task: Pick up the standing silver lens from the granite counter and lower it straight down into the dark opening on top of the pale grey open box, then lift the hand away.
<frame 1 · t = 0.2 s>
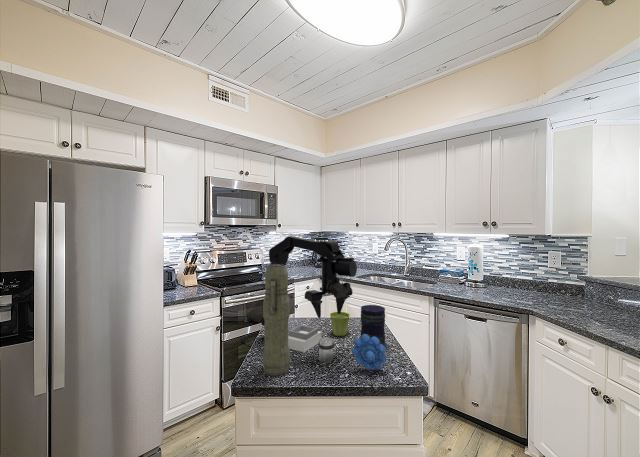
hand: (329, 315, 108), 14 cm above the countertop, tool pointing down, fingers open, 9 cm apart
lens: (326, 359, 103), on the countertop
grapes: (369, 372, 94), on the countertop
thermos: (276, 369, 96), on the countertop
storage jar: (372, 345, 116), on the countertop
grey open box: (303, 344, 116), on the countertop
plant pot: (339, 334, 128), on the countertop
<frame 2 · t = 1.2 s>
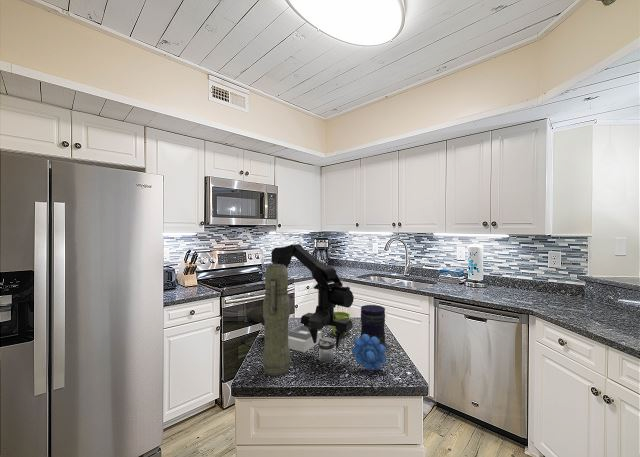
hand: (325, 345, 103), 5 cm above the countertop, tool pointing down, fingers open, 9 cm apart
nothing on the countertop moved.
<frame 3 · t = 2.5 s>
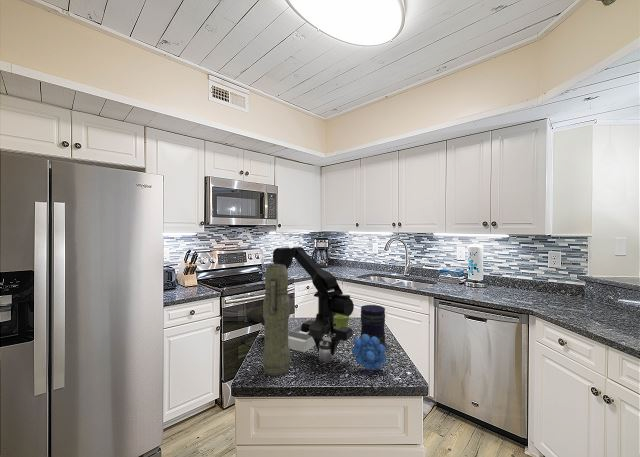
hand: (326, 353, 103), 2 cm above the countertop, tool pointing down, fingers closed on lens, 5 cm apart
lens: (326, 359, 103), on the countertop, touching gripper
everything else where it was.
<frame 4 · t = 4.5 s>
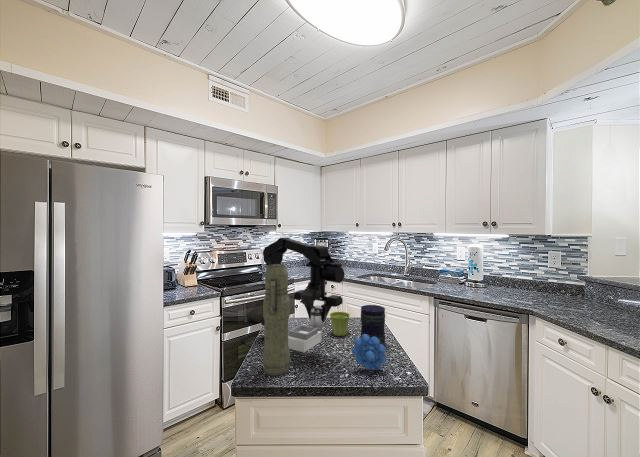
hand: (317, 320, 108), 12 cm above the countertop, tool pointing down, fingers closed on lens, 5 cm apart
lens: (316, 325, 108), point 10 cm above the countertop, touching gripper
everything else where it was.
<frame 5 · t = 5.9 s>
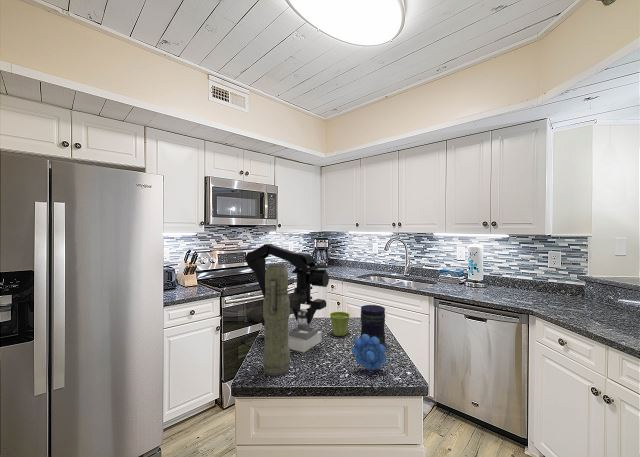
hand: (303, 322, 116), 9 cm above the countertop, tool pointing down, fingers closed on lens, 5 cm apart
lens: (303, 327, 116), point 7 cm above the countertop, touching gripper
everything else where it was.
when the fingers open (7 cm above the countertop, at t = 6.9 s): lens drops 1 cm, resting on grey open box.
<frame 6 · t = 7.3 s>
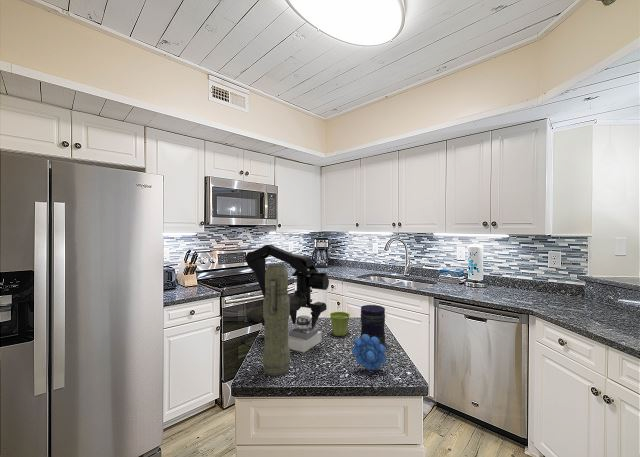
hand: (303, 325, 116), 7 cm above the countertop, tool pointing down, fingers open, 9 cm apart
lens: (303, 334, 116), point 4 cm above the countertop, touching grey open box
everything else where it was.
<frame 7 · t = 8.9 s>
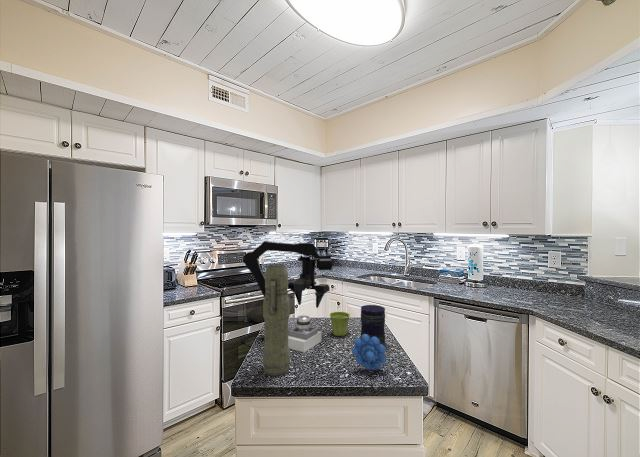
hand: (308, 306, 126), 13 cm above the countertop, tool pointing down, fingers open, 9 cm apart
nothing on the countertop moved.
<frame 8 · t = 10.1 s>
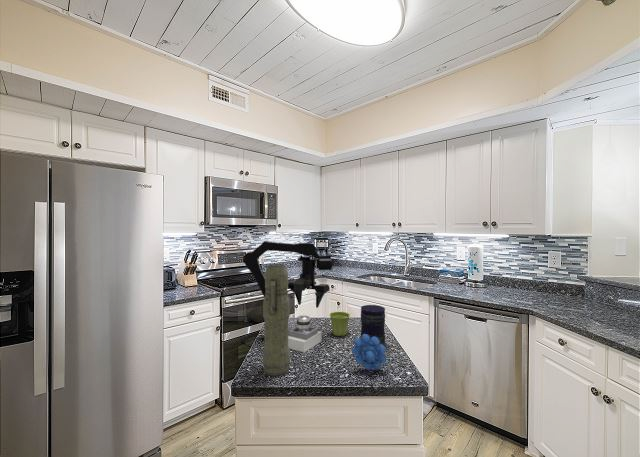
hand: (308, 306, 126), 13 cm above the countertop, tool pointing down, fingers open, 9 cm apart
nothing on the countertop moved.
at the end: lens 0.0 cm off-centre on the grey open box, point 4.0 cm above the grey open box's base; the gripper is holding nothing; lens tilted 0° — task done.
